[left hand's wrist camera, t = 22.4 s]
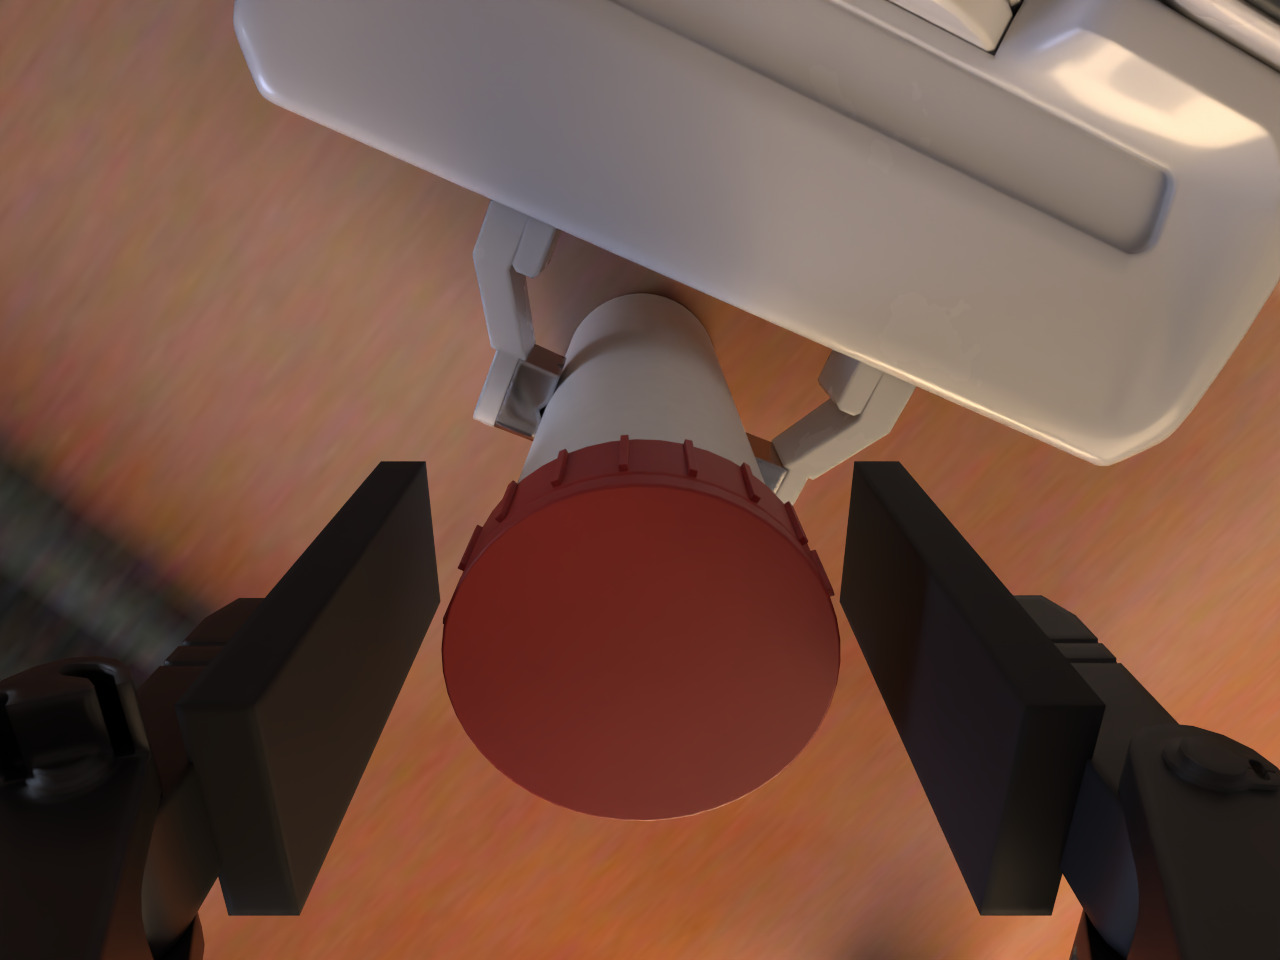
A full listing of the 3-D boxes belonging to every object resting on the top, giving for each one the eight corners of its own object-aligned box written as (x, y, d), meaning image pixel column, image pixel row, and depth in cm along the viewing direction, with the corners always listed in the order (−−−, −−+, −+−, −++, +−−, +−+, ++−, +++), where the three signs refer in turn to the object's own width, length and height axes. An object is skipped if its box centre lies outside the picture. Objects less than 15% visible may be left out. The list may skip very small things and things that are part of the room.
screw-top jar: (717, 433, 26) (807, 755, 12) (574, 443, 26) (498, 773, 12) (712, 287, 24) (809, 464, 10) (558, 298, 24) (448, 488, 10)
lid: (406, 662, 12) (372, 736, 11) (559, 364, 11) (544, 399, 9) (705, 791, 13) (713, 875, 12) (890, 535, 12) (929, 595, 10)
